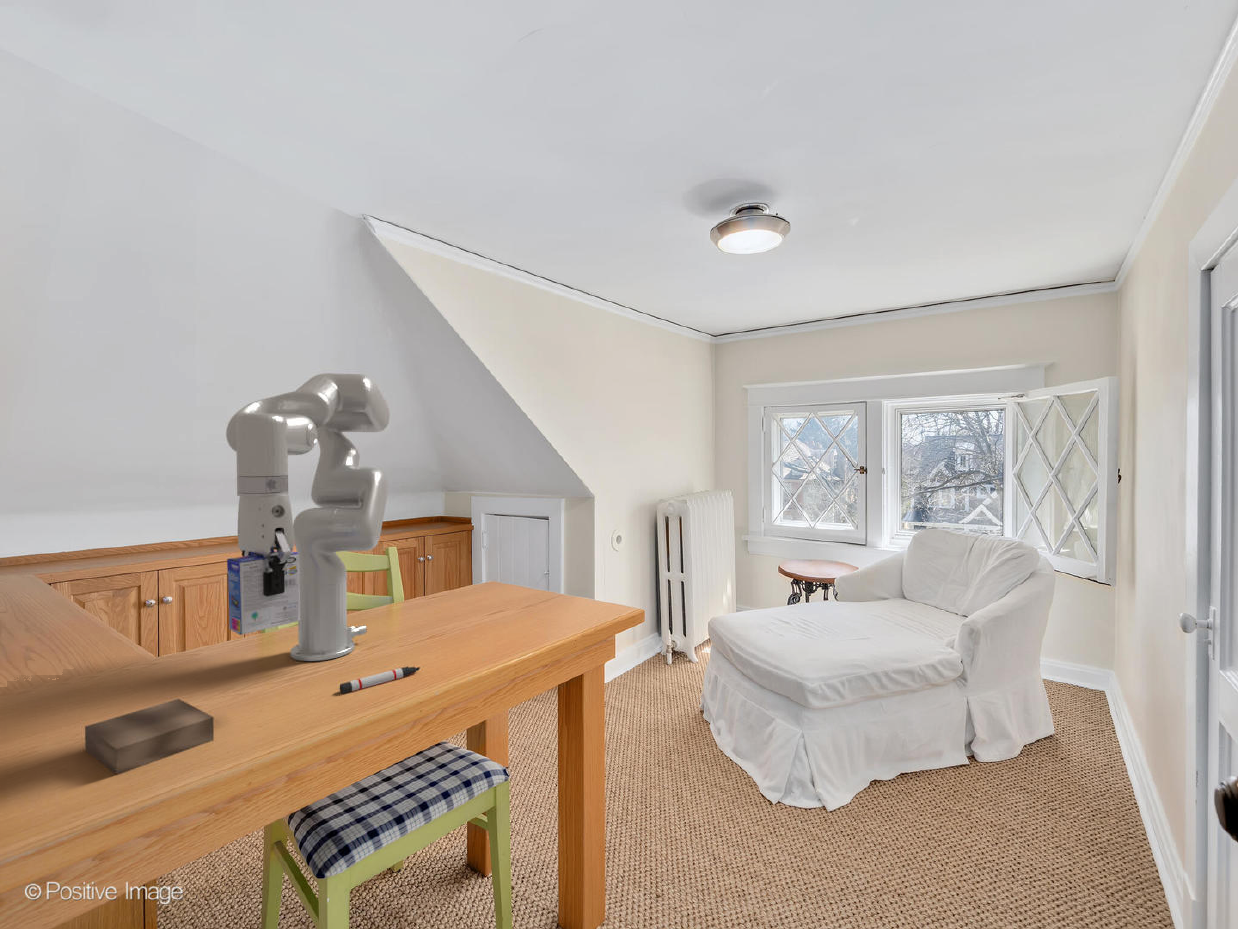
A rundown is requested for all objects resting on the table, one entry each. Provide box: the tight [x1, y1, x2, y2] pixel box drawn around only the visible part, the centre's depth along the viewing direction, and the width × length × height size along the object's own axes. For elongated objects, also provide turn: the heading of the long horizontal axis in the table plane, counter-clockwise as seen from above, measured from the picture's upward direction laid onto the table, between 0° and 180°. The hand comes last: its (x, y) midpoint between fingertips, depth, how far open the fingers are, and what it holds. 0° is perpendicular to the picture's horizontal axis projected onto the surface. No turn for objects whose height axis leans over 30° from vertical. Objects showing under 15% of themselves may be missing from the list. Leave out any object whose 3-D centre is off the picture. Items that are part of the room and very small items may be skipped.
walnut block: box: [84, 698, 215, 776], centre depth 92 cm, size 12×12×4 cm
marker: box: [339, 666, 421, 695], centre depth 117 cm, size 15×2×2 cm, turn 135°
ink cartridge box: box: [226, 549, 300, 636], centre depth 104 cm, size 10×6×14 cm, turn 145°
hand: (264, 590), depth 104 cm, fingers closed on ink cartridge box, 5 cm apart
